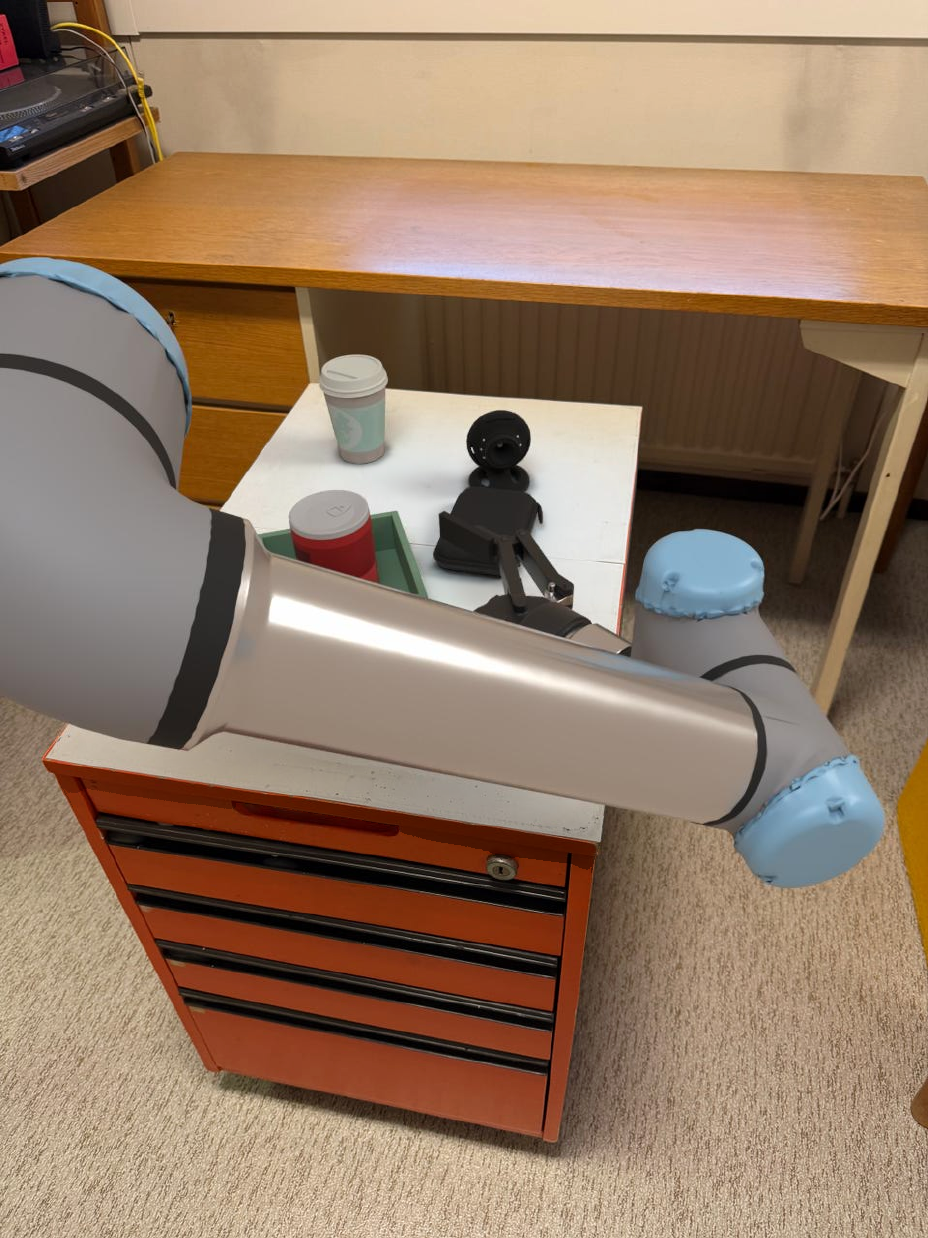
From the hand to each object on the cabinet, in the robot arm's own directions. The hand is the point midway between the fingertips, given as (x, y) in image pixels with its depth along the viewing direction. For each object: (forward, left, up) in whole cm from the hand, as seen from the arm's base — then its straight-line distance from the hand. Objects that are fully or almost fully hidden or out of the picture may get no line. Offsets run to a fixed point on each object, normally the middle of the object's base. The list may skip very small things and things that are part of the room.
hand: (389, 555), depth 81 cm
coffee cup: (+2, +37, -11) cm, 39 cm away
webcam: (+17, +24, -11) cm, 32 cm away
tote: (-5, +7, -11) cm, 14 cm away
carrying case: (+13, +13, -11) cm, 22 cm away
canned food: (-4, +7, -10) cm, 13 cm away
